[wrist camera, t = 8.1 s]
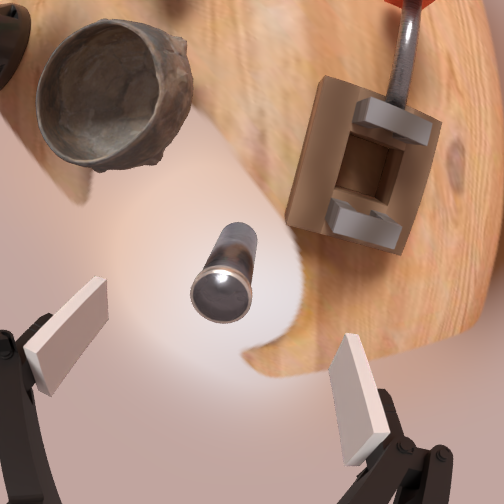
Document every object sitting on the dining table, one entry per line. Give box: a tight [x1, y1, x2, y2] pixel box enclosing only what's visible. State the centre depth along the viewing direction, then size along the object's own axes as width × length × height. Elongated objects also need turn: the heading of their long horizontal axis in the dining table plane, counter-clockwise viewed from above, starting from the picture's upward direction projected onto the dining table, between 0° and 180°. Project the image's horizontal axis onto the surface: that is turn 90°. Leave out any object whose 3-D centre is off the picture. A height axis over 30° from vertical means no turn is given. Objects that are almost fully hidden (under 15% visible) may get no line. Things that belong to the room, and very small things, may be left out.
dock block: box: [285, 75, 442, 256], centre depth 25 cm, size 12×14×8 cm
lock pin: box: [384, 0, 435, 110], centre depth 18 cm, size 4×18×7 cm, turn 167°
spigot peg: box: [190, 222, 257, 324], centre depth 27 cm, size 4×4×12 cm
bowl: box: [36, 19, 193, 173], centre depth 23 cm, size 14×15×10 cm
